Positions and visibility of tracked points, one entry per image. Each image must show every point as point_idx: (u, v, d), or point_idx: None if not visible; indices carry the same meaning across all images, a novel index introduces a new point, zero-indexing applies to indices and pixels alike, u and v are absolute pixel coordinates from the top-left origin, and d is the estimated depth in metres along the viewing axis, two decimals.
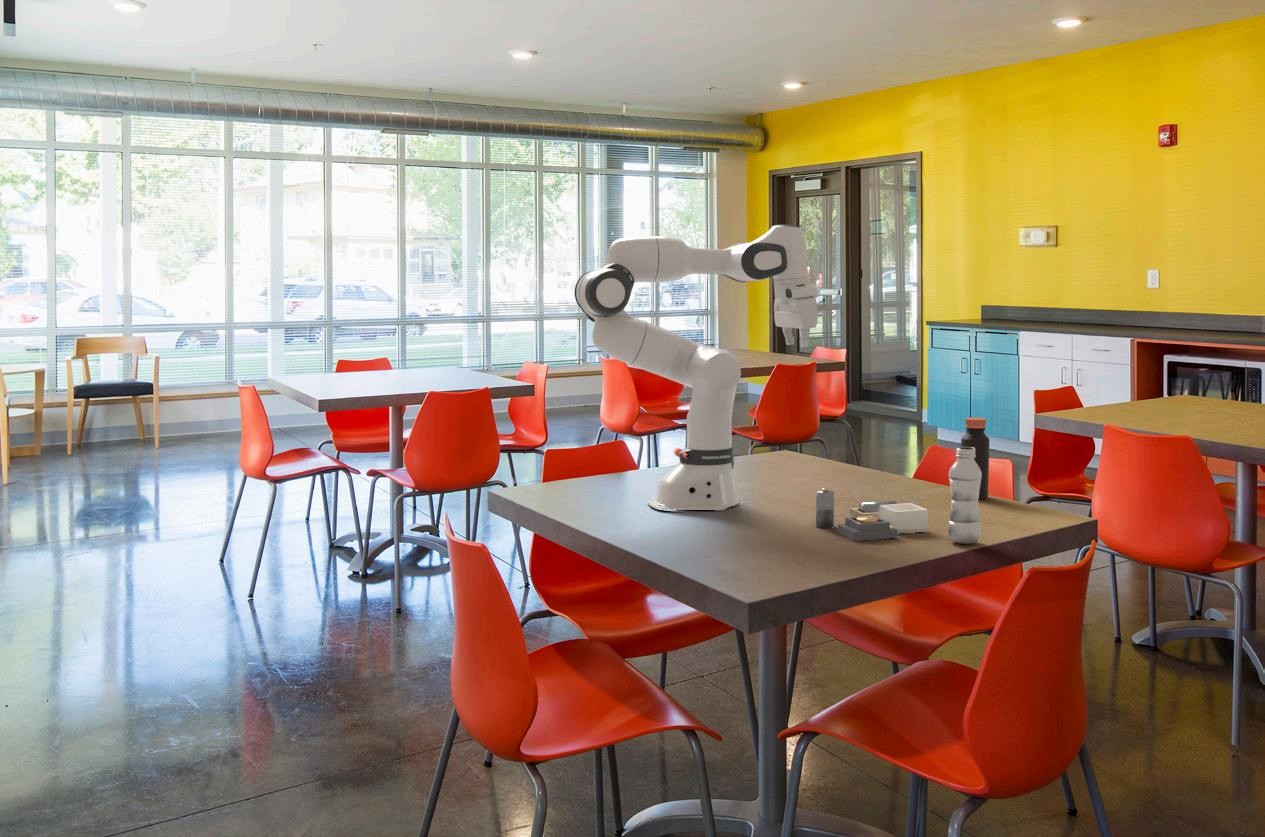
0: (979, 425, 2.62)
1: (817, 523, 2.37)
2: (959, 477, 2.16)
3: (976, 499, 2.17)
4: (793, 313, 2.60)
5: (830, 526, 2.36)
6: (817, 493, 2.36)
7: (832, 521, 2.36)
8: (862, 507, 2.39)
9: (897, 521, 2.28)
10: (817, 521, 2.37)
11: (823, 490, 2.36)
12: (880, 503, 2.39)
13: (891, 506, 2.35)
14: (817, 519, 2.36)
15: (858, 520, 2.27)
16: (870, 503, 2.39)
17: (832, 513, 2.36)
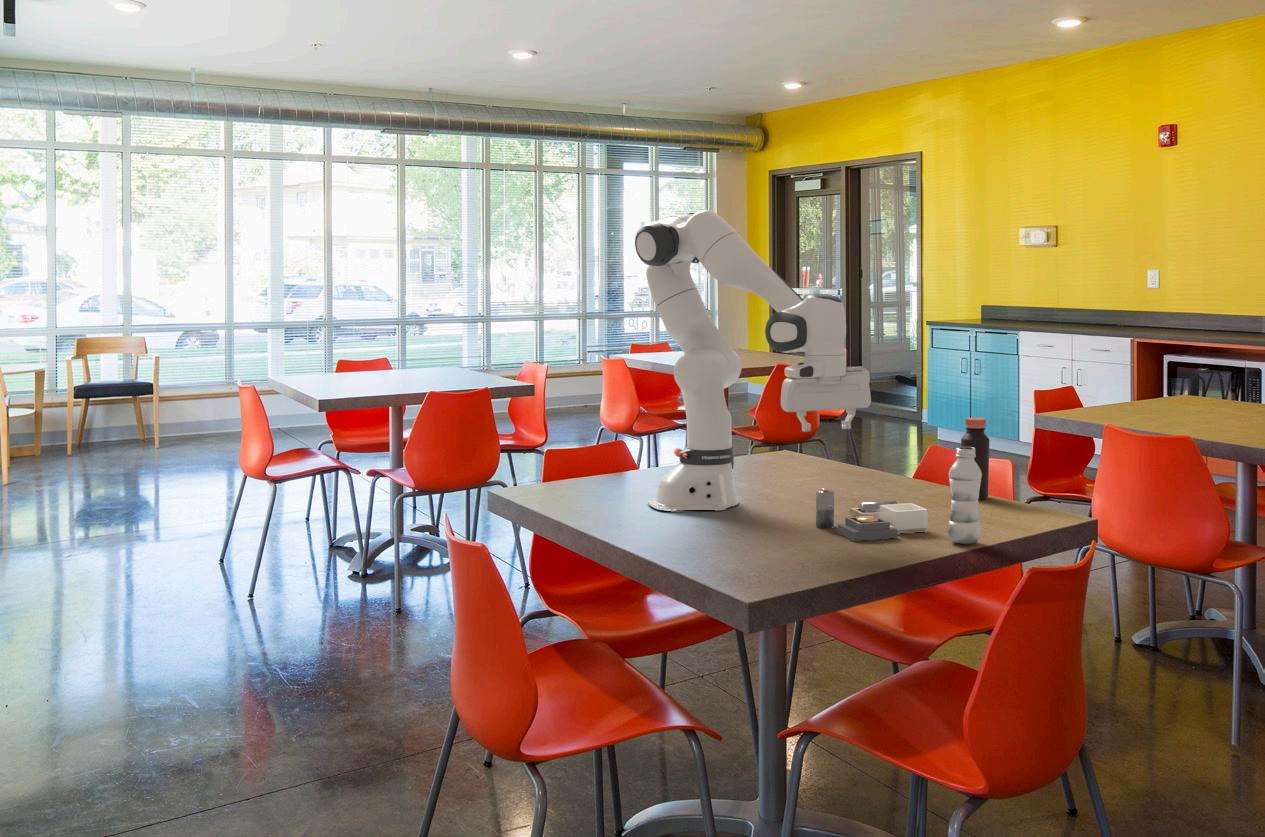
0: (979, 425, 2.62)
1: (817, 523, 2.37)
2: (959, 477, 2.16)
3: (976, 499, 2.17)
4: None
5: (830, 526, 2.36)
6: (817, 493, 2.36)
7: (832, 521, 2.36)
8: (862, 507, 2.39)
9: (897, 521, 2.28)
10: (817, 521, 2.37)
11: (823, 490, 2.36)
12: (880, 503, 2.39)
13: (891, 506, 2.35)
14: (817, 519, 2.36)
15: (858, 520, 2.27)
16: (870, 503, 2.39)
17: (832, 513, 2.36)
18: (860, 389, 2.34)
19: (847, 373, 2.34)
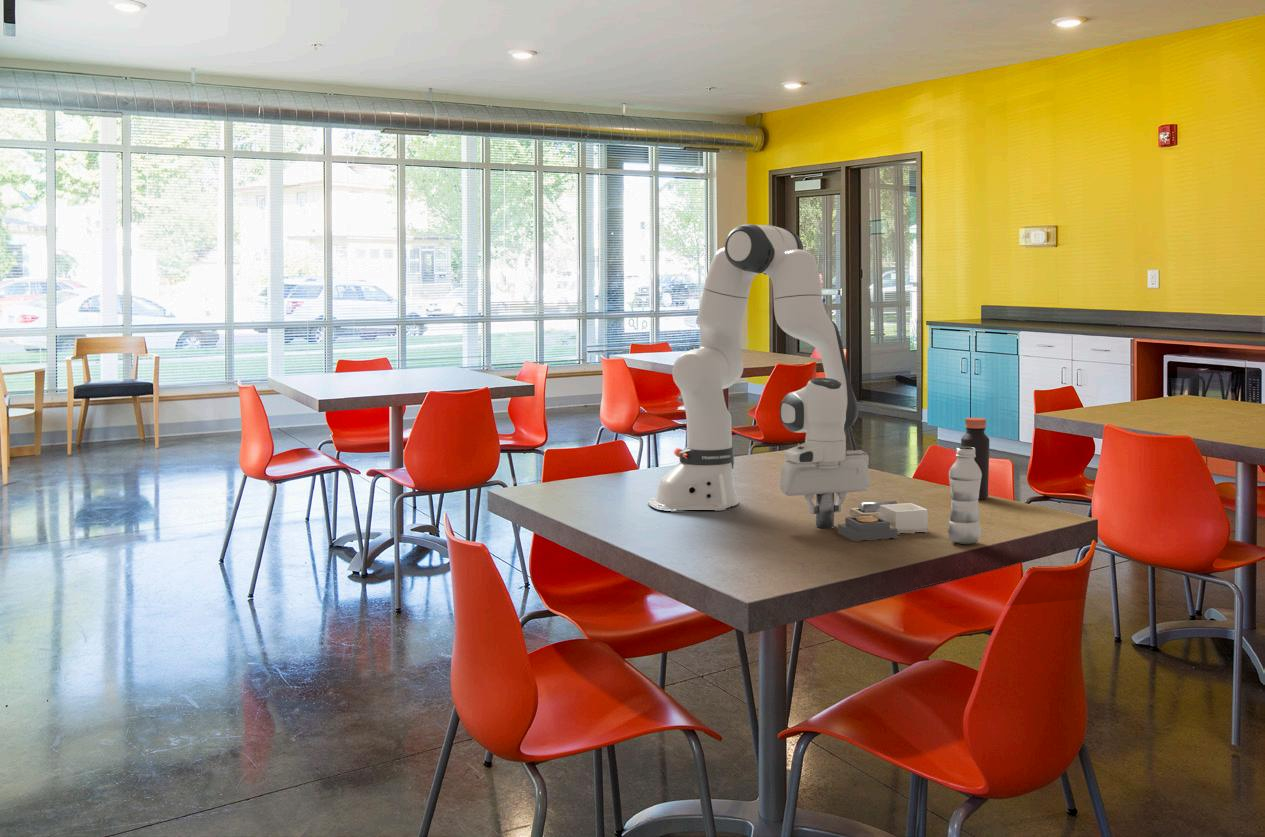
0: (979, 425, 2.62)
1: (817, 523, 2.37)
2: (959, 477, 2.16)
3: (976, 499, 2.17)
4: None
5: (830, 526, 2.36)
6: None
7: (832, 521, 2.36)
8: (862, 507, 2.39)
9: (897, 521, 2.28)
10: (817, 521, 2.37)
11: None
12: (880, 503, 2.39)
13: (891, 506, 2.35)
14: (817, 519, 2.36)
15: (858, 520, 2.27)
16: (870, 503, 2.39)
17: (832, 513, 2.36)
18: (859, 473, 2.36)
19: (846, 457, 2.36)
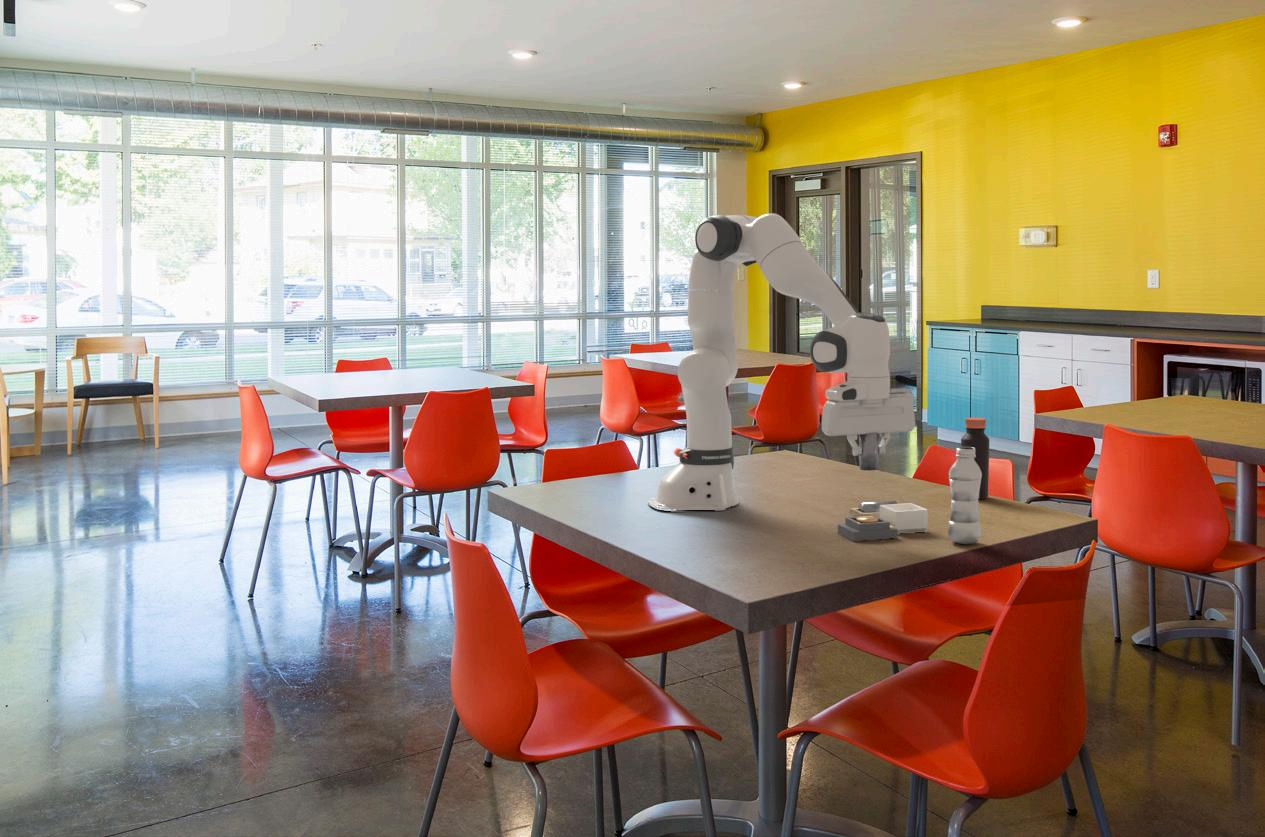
0: (979, 425, 2.62)
1: (861, 465, 2.25)
2: (959, 477, 2.16)
3: (976, 499, 2.17)
4: None
5: (875, 468, 2.24)
6: None
7: (877, 463, 2.25)
8: (862, 507, 2.39)
9: (897, 521, 2.28)
10: (861, 463, 2.25)
11: None
12: (880, 503, 2.39)
13: (891, 506, 2.35)
14: (861, 461, 2.25)
15: (858, 520, 2.27)
16: (870, 503, 2.39)
17: (877, 454, 2.24)
18: (904, 412, 2.25)
19: (890, 395, 2.25)
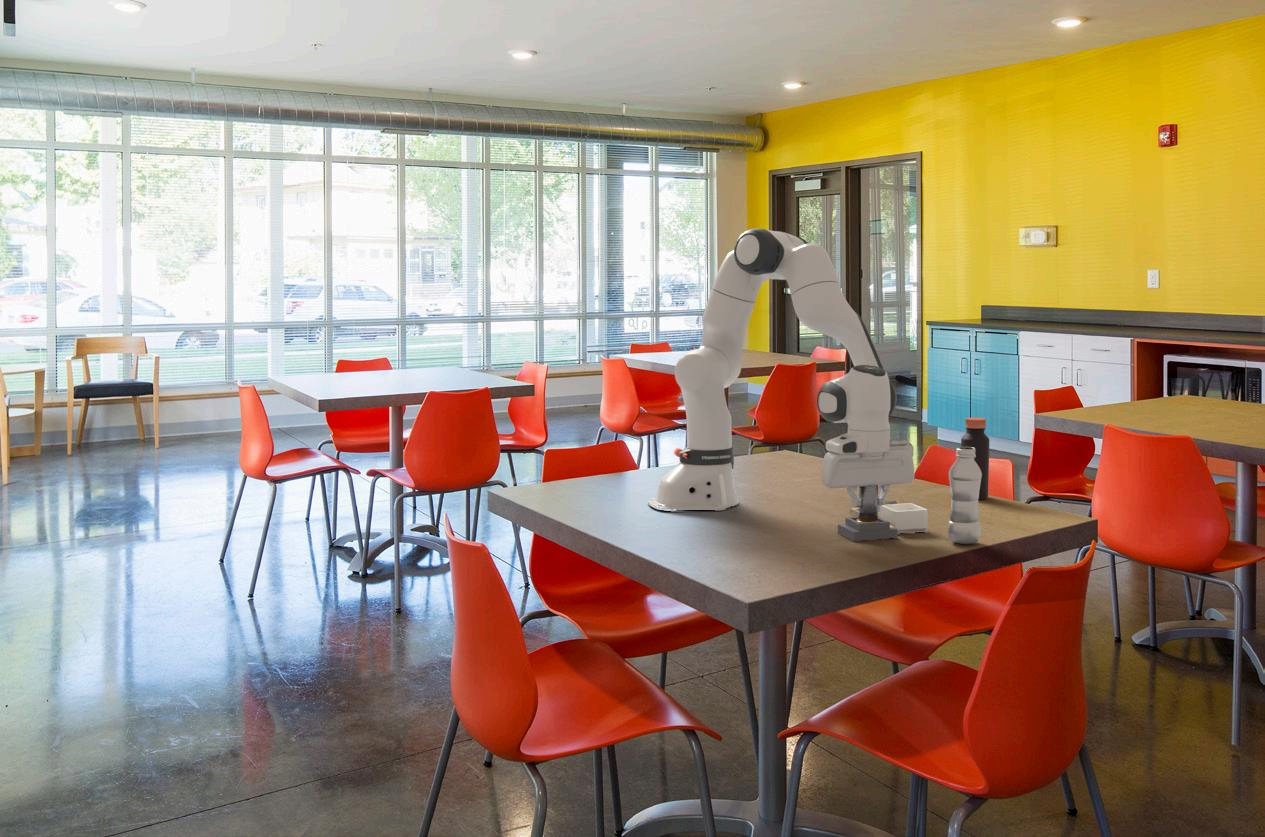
0: (979, 425, 2.62)
1: (860, 517, 2.27)
2: (959, 477, 2.16)
3: (976, 499, 2.17)
4: None
5: (874, 520, 2.26)
6: None
7: (876, 514, 2.26)
8: None
9: (897, 521, 2.28)
10: (860, 514, 2.27)
11: None
12: None
13: (891, 506, 2.35)
14: (860, 512, 2.27)
15: None
16: None
17: (876, 506, 2.26)
18: (904, 464, 2.26)
19: (890, 447, 2.26)
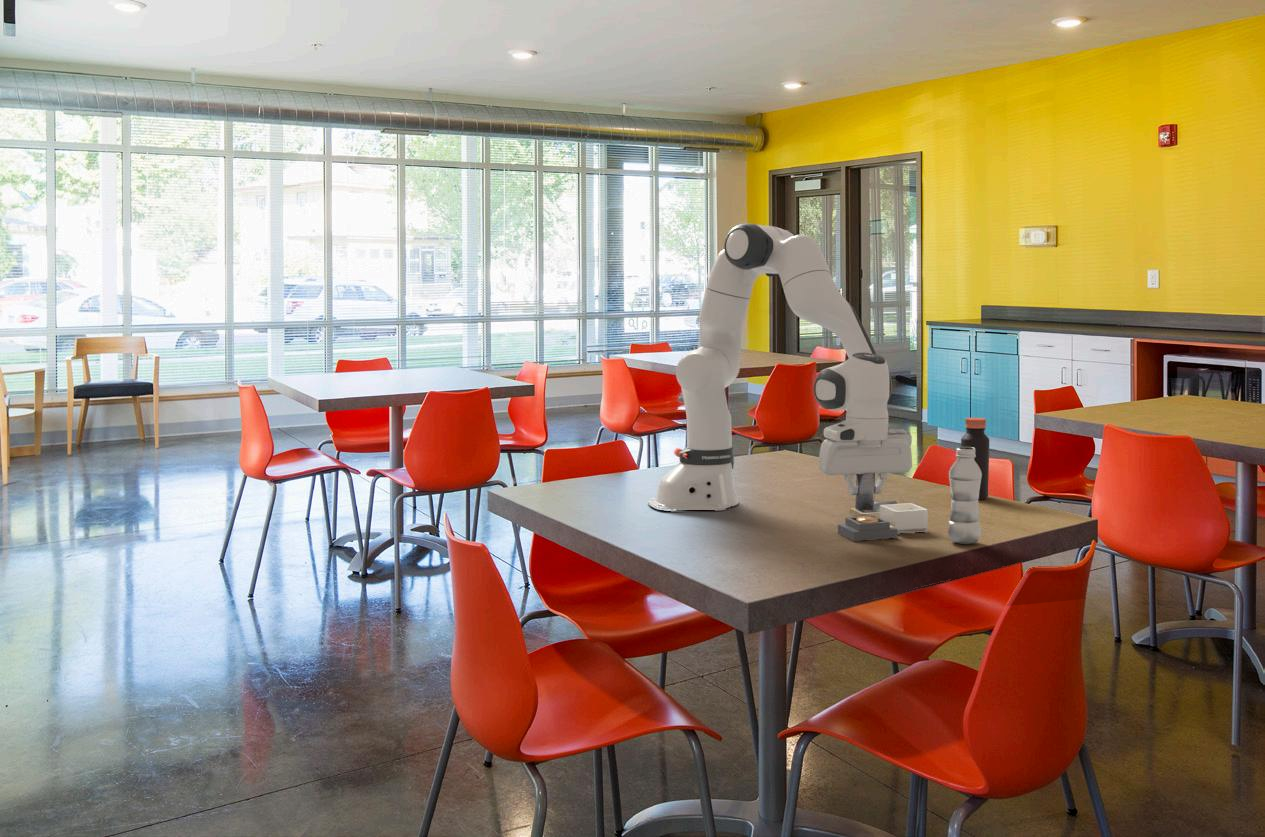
0: (979, 425, 2.62)
1: (857, 504, 2.26)
2: (959, 477, 2.16)
3: (976, 499, 2.17)
4: None
5: (870, 508, 2.25)
6: None
7: (872, 503, 2.26)
8: None
9: (897, 521, 2.28)
10: (857, 502, 2.26)
11: None
12: (880, 503, 2.39)
13: (891, 506, 2.35)
14: (857, 500, 2.26)
15: (858, 521, 2.27)
16: None
17: (873, 494, 2.25)
18: (901, 453, 2.26)
19: (888, 436, 2.26)
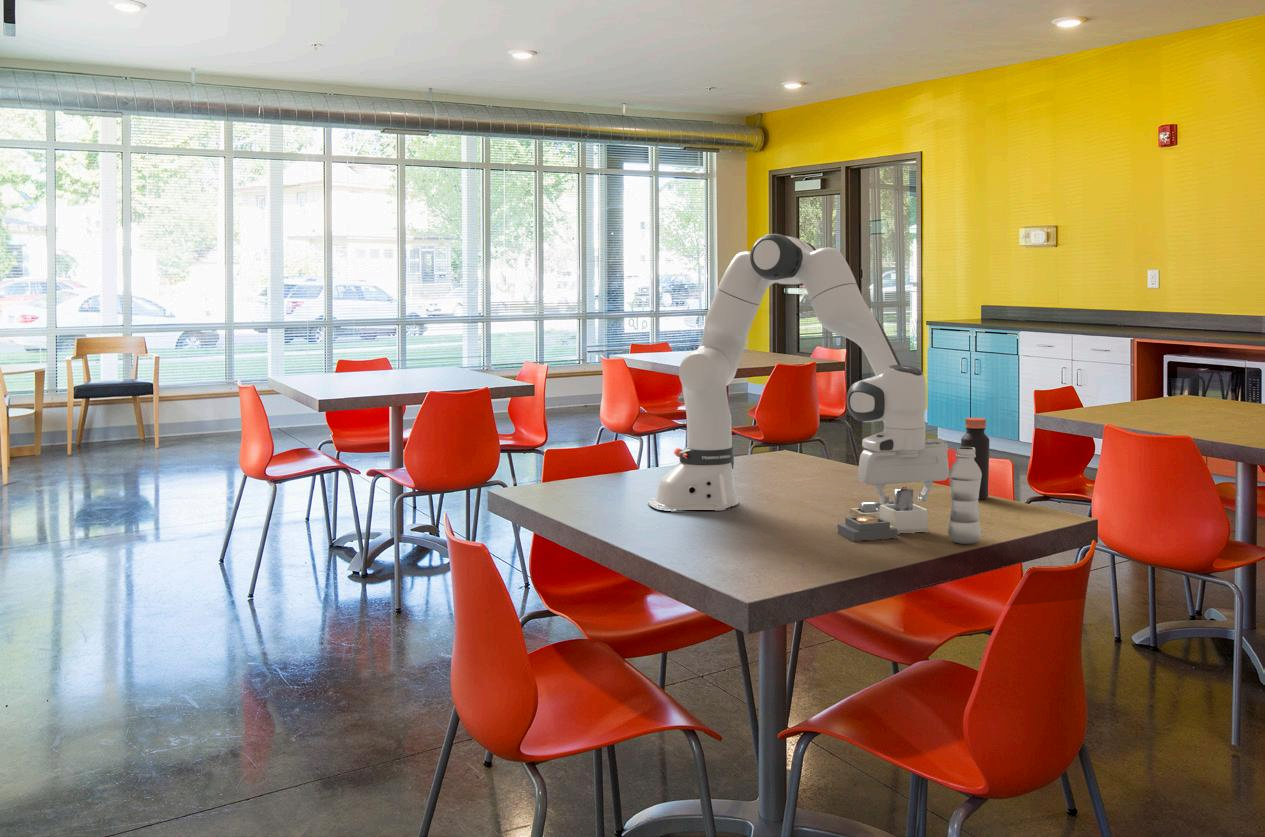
0: (979, 425, 2.62)
1: None
2: (959, 477, 2.16)
3: (976, 499, 2.17)
4: None
5: None
6: (896, 491, 2.31)
7: None
8: (862, 507, 2.39)
9: (897, 521, 2.28)
10: None
11: (902, 488, 2.31)
12: None
13: (891, 506, 2.35)
14: None
15: (858, 521, 2.27)
16: (870, 503, 2.39)
17: None
18: (938, 462, 2.31)
19: (925, 445, 2.32)
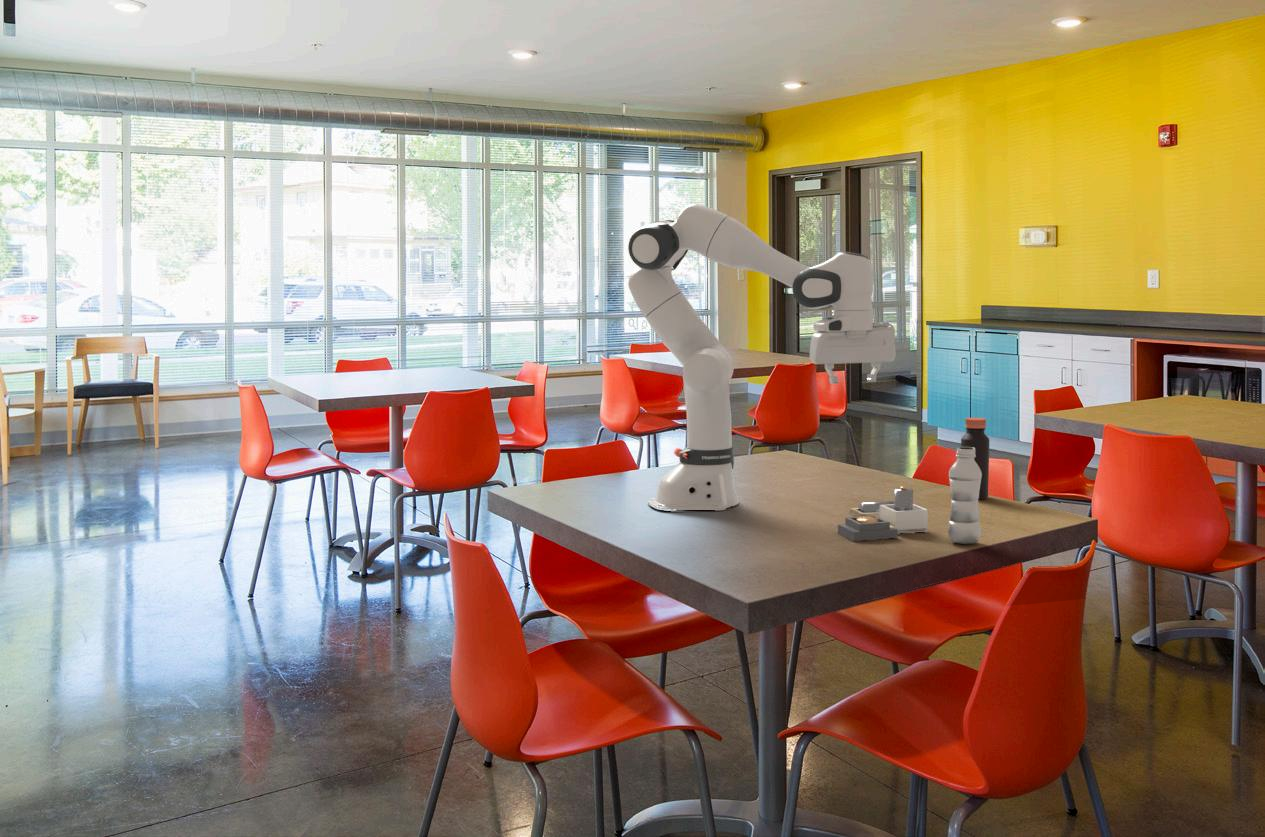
0: (979, 425, 2.62)
1: None
2: (959, 477, 2.16)
3: (976, 499, 2.17)
4: None
5: None
6: (896, 491, 2.31)
7: None
8: (862, 507, 2.39)
9: (897, 521, 2.28)
10: None
11: (902, 488, 2.31)
12: (880, 503, 2.39)
13: (891, 506, 2.35)
14: None
15: (858, 521, 2.27)
16: (870, 503, 2.39)
17: None
18: (885, 344, 2.45)
19: (873, 328, 2.45)
